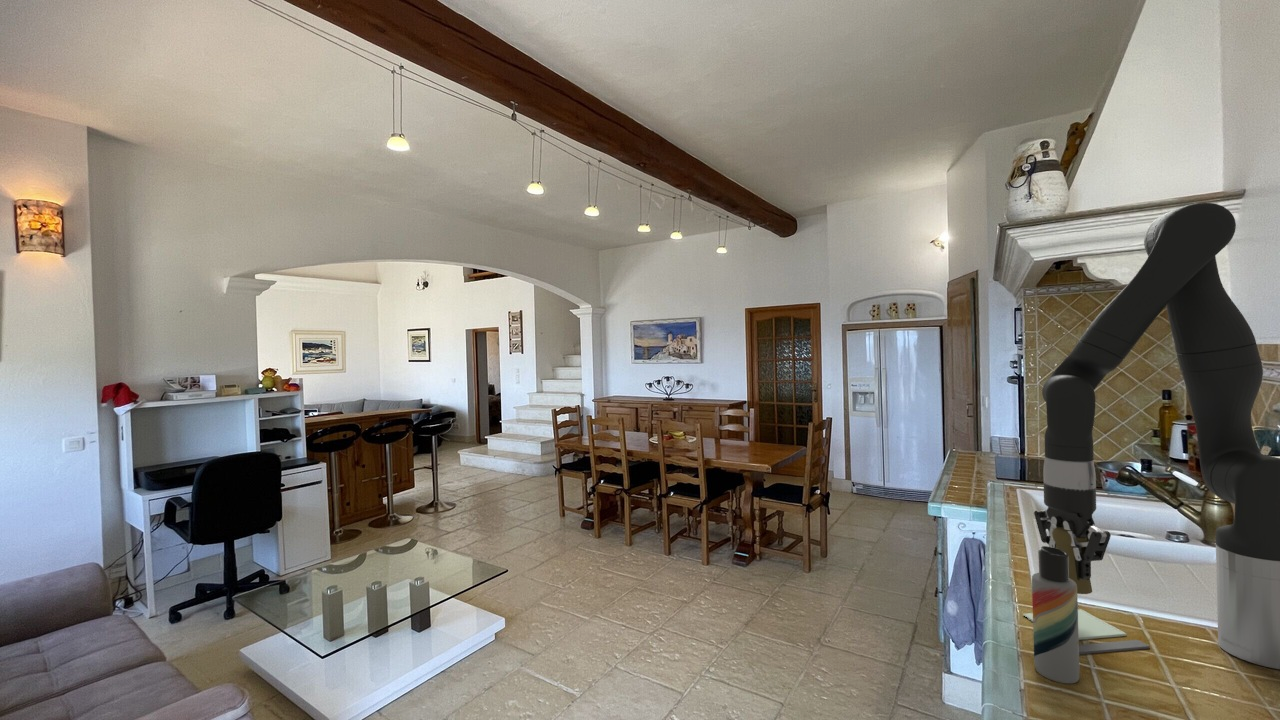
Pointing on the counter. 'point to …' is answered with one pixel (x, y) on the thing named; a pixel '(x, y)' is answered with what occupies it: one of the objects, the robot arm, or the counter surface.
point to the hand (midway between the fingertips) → (1070, 574)
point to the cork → (1071, 558)
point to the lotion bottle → (1055, 618)
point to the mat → (1091, 627)
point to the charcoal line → (1112, 646)
